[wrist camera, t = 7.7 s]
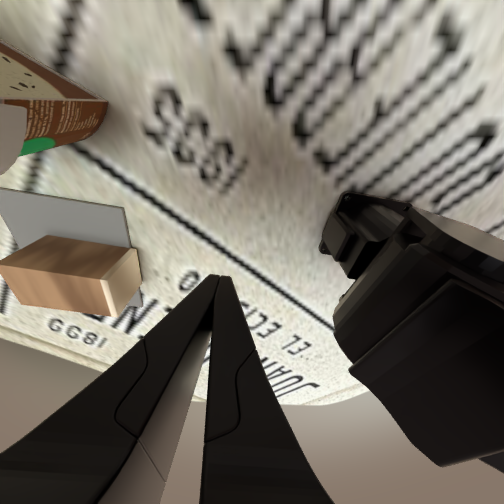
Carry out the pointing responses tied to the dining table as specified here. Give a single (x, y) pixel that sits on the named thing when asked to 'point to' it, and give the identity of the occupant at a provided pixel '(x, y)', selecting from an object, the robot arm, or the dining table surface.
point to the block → (73, 275)
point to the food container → (41, 107)
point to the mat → (64, 221)
